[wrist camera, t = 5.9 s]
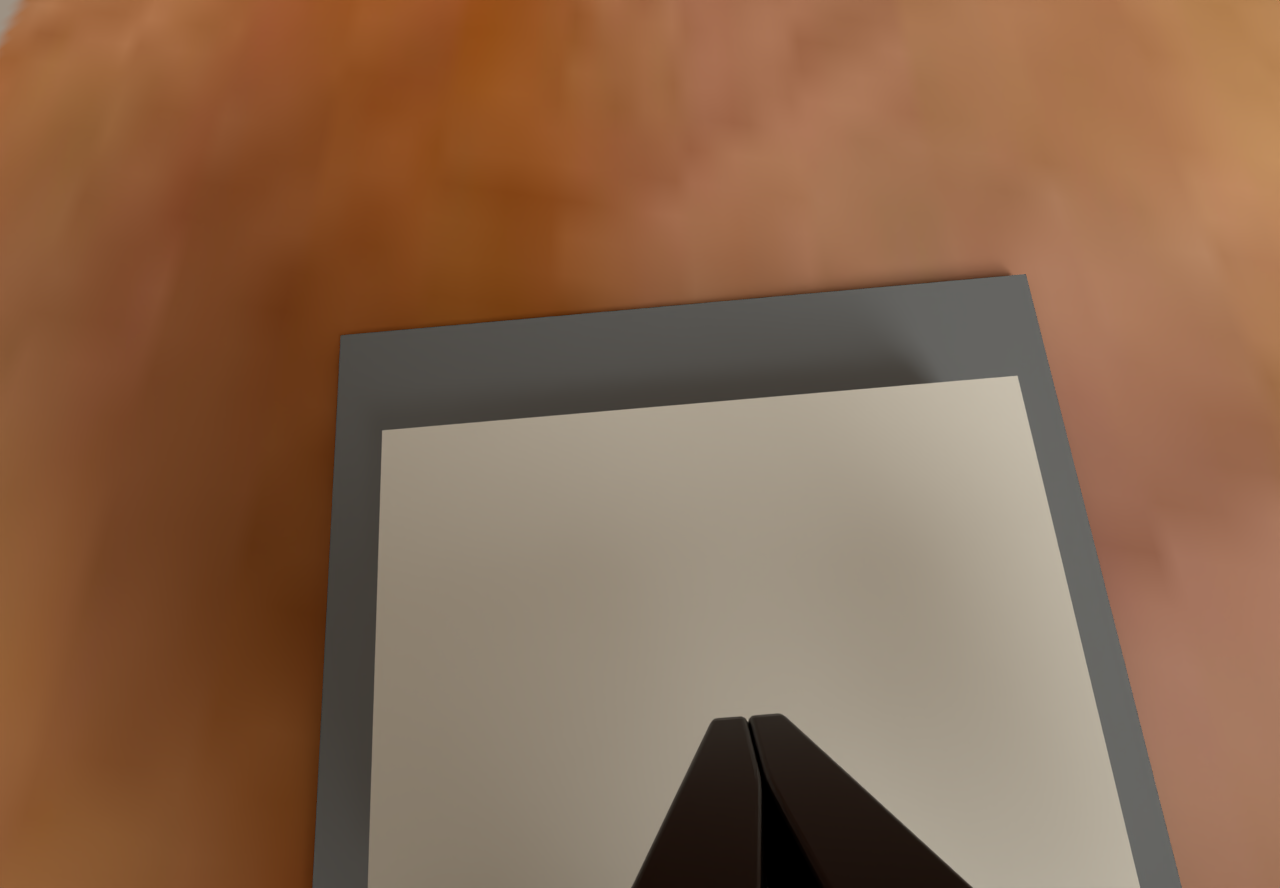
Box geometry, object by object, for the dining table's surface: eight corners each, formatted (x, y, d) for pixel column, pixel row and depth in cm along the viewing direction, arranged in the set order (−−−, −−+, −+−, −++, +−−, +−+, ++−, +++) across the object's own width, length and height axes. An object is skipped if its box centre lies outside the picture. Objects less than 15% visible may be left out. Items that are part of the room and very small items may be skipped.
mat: (1300, 1403, 13) (1317, 1421, 13) (293, 1457, 14) (282, 1477, 13) (1019, 283, 20) (1025, 274, 20) (346, 343, 20) (340, 335, 20)
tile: (1147, 918, 13) (1017, 375, 16) (364, 972, 13) (382, 430, 16) (1071, 888, 16) (971, 426, 19) (417, 935, 16) (424, 473, 19)
